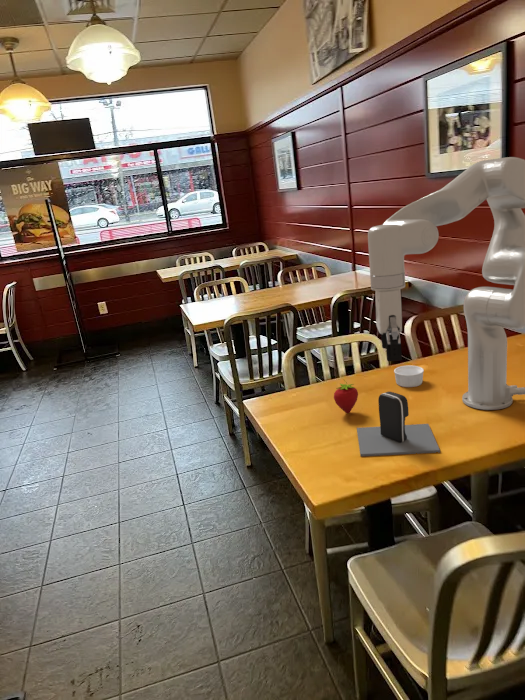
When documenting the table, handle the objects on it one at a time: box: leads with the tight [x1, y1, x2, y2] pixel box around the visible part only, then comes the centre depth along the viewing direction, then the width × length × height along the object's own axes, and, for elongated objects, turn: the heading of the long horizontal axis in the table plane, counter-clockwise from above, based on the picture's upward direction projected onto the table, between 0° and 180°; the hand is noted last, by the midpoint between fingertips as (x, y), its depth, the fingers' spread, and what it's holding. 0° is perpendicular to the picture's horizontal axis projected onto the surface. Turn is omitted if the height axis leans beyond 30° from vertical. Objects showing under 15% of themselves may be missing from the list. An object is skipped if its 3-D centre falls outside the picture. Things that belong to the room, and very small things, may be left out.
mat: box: [356, 423, 441, 457], centre depth 127 cm, size 18×14×1 cm
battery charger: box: [378, 391, 409, 442], centre depth 126 cm, size 7×4×11 cm, turn 34°
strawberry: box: [333, 379, 359, 414], centre depth 144 cm, size 6×8×10 cm
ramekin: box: [393, 364, 425, 388], centre depth 161 cm, size 9×9×4 cm
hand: (391, 353), depth 121 cm, fingers open, 9 cm apart
